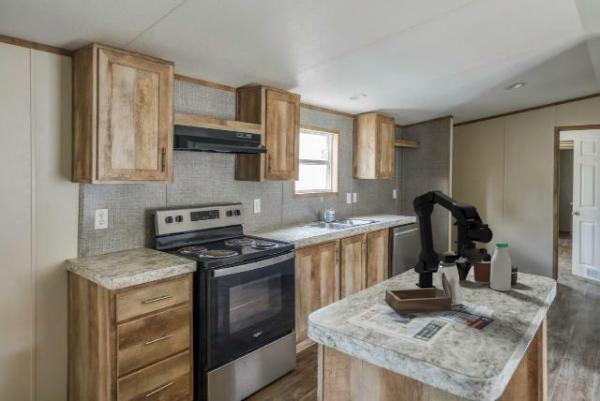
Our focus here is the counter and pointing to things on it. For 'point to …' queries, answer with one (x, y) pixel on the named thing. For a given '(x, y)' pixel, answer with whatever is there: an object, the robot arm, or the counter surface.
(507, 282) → the milk bottle
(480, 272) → the coffee cup
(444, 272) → the beer glass
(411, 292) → the wooden tray
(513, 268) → the jar
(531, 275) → the counter surface
